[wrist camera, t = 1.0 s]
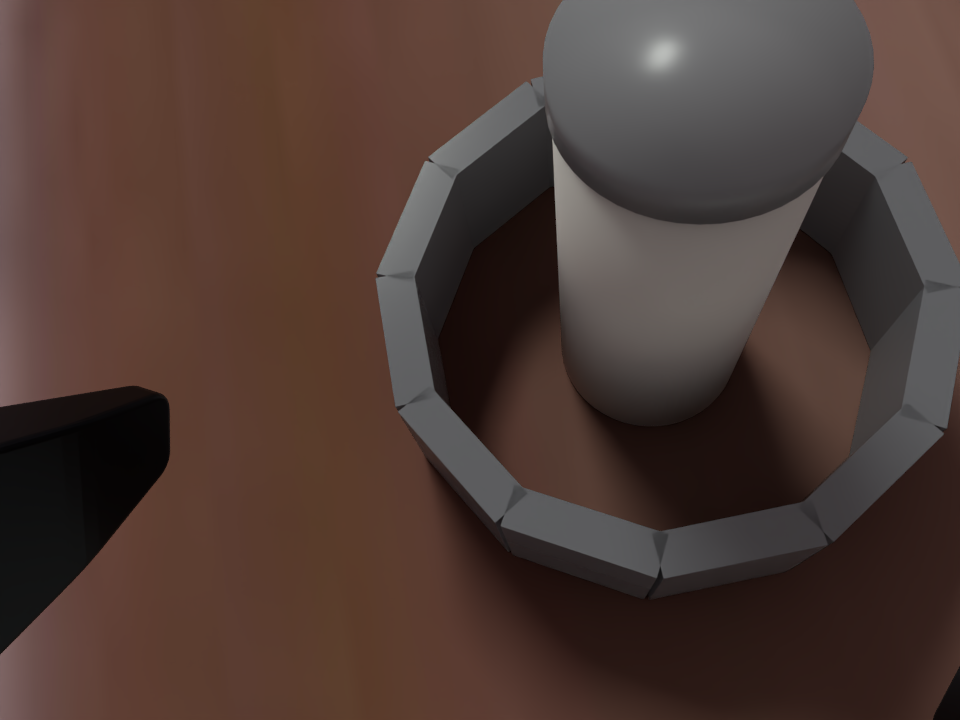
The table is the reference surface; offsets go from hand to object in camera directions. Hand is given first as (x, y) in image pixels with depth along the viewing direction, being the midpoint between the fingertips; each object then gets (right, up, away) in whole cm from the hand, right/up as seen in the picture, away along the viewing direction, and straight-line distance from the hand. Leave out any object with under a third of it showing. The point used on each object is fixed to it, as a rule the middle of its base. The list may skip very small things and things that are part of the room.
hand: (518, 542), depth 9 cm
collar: (+4, +2, +15) cm, 16 cm away
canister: (+4, +2, +15) cm, 16 cm away
